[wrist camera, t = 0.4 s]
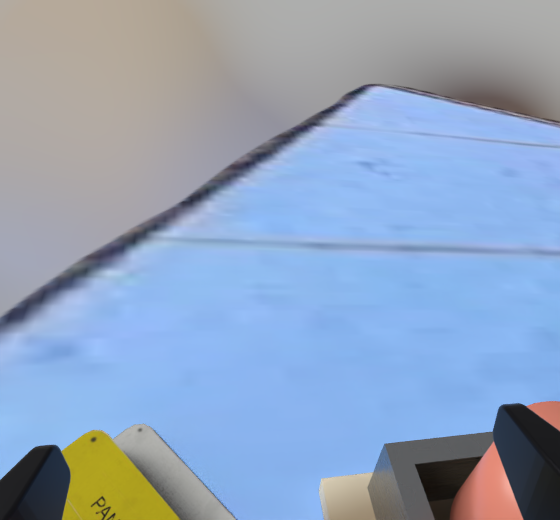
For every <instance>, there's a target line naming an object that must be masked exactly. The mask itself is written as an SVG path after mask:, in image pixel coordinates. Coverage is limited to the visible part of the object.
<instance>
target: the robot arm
mask: <svg viewBox="0 0 560 520" xmlns="http://www.w3.org/2000/svg"><path fill="white" fill-rule="evenodd" d="M493 440H494V443H495V446H496V449H497V451H498V454H499V457H500V459H501V462H502V465H503V468H504V470H505V473H506V476H507V478H508V481H509V484H510V486H511V489H512V492H513V494H514V497H515V500H516V502H517V505H518V508H519V510H520V513H521V515H522V518H523V520H560V431H559V430H558V429H557V428H555V427H554V426H552V425H551V424H550V423H548V422H547V421H546V420H544V419H543V418H541V417H540V416H539V415H537V414H536V413H535V412H533V411H532V410H530V409H529V408H528V407H526V406H525V405H523V404H520V403H515V404H504V405H501V406H500V407H499V409H498V413H497V417H496V421H495V424H494V428H493ZM70 479H71V473H70V468H69V466H68V464H67V462H66V460H65V458H64V456H63V454H62V452H61V450H60V448H59V447H58V446H56V445H44V446H37V447H35V448H33V449H32V450H31V451H30V452H29V453H28V454H27V455H26V456H25V457H23V458H22V459H21V460H20V461H19V462H18V463H17V464H16V465H15V466H14V467H13V468H12V469H11V470H10V471H9V472H8V473H7V474H6V475H5V476H4V477H3V478H2V479H1V480H0V520H62V517H63V512H64V508H65V503H66V499H67V494H68V489H69V485H70Z"/></svg>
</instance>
